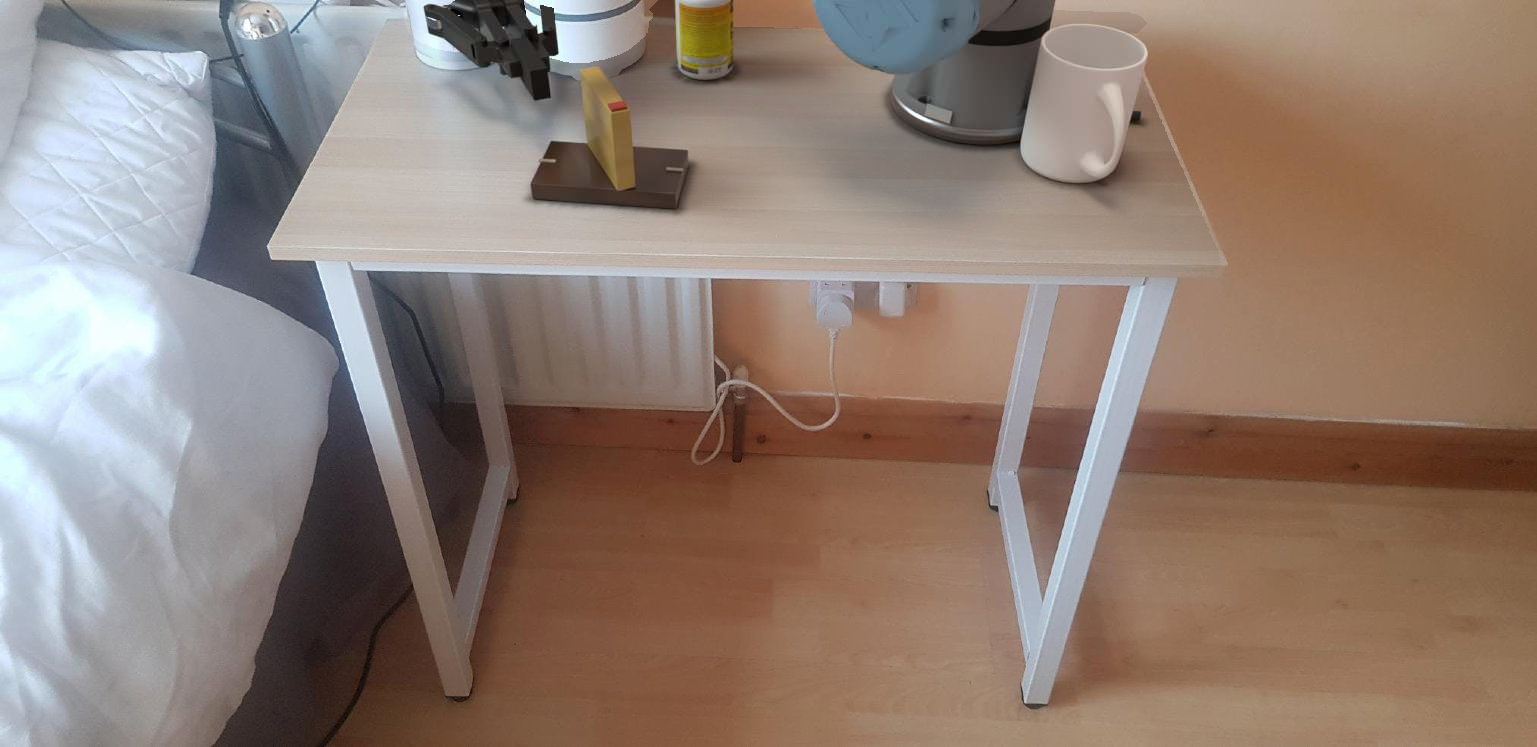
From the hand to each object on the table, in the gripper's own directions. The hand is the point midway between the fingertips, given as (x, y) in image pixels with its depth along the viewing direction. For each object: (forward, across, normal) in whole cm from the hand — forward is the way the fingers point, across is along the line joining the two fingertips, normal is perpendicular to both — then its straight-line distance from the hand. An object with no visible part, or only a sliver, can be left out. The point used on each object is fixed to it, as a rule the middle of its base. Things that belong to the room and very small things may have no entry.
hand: (540, 84), depth 91 cm
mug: (+20, -41, -7) cm, 47 cm away
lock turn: (+7, -4, -5) cm, 9 cm away
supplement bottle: (-9, -19, -7) cm, 22 cm away
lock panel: (+7, -4, -6) cm, 10 cm away
